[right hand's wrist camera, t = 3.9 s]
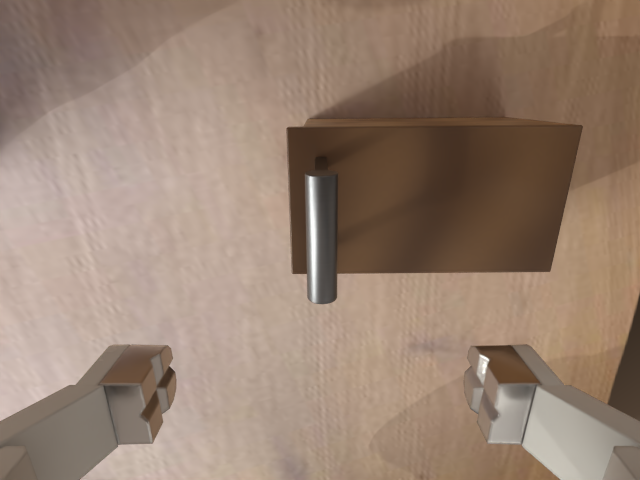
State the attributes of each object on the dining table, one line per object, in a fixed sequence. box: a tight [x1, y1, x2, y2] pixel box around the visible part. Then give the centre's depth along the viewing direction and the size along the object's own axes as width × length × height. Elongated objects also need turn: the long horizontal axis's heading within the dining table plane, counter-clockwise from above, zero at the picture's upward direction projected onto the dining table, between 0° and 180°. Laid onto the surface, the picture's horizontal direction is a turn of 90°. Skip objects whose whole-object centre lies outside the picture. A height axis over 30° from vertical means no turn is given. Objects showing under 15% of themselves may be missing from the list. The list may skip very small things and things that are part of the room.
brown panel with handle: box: [287, 125, 582, 304], centre depth 22 cm, size 18×10×8 cm, turn 90°
